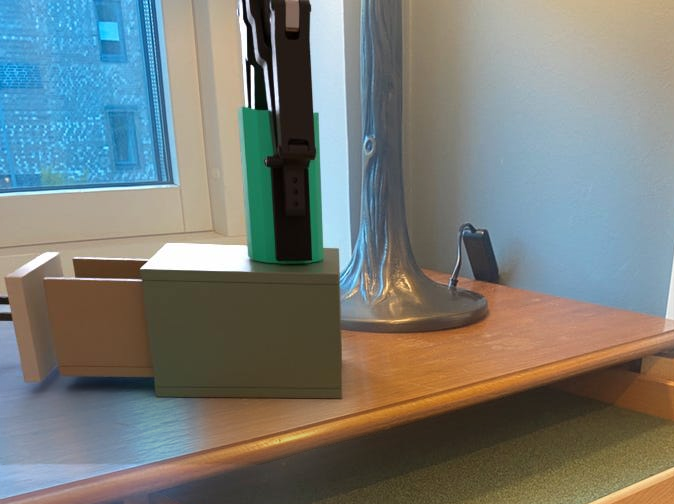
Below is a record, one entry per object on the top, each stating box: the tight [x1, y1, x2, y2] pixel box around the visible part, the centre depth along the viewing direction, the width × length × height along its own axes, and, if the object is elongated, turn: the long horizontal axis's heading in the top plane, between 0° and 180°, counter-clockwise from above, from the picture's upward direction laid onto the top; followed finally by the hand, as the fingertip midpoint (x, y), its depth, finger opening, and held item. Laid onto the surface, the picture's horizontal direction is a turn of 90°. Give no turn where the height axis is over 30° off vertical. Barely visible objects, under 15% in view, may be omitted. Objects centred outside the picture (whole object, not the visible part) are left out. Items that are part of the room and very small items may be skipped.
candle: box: [237, 106, 324, 264], centre depth 74 cm, size 6×6×12 cm
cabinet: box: [140, 242, 343, 399], centre depth 80 cm, size 15×13×10 cm
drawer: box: [0, 251, 154, 383], centre depth 78 cm, size 18×11×8 cm, turn 97°
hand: (285, 252), depth 77 cm, fingers closed on candle, 6 cm apart
